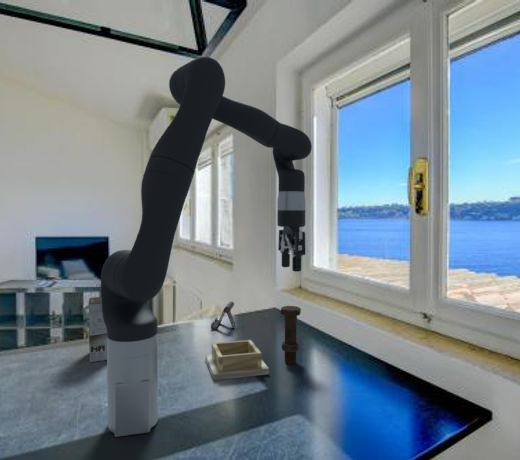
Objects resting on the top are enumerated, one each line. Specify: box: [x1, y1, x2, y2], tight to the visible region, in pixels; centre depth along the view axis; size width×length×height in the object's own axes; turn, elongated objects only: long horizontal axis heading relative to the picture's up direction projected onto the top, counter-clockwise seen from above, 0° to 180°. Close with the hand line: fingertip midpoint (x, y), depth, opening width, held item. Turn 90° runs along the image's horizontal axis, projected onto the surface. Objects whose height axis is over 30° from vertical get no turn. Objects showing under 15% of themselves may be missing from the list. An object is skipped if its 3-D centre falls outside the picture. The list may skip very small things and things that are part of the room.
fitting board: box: [205, 339, 270, 381], centre depth 103 cm, size 14×14×5 cm
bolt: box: [280, 305, 302, 365], centre depth 106 cm, size 6×5×15 cm
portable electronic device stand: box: [210, 301, 237, 331], centre depth 140 cm, size 9×8×8 cm
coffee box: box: [88, 296, 107, 363], centre depth 111 cm, size 9×6×16 cm
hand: (290, 269), depth 106 cm, fingers open, 8 cm apart
